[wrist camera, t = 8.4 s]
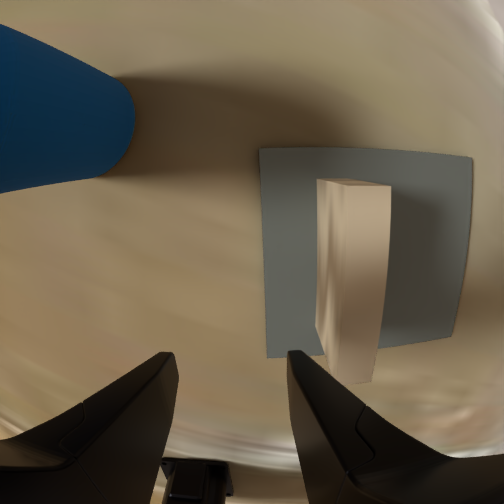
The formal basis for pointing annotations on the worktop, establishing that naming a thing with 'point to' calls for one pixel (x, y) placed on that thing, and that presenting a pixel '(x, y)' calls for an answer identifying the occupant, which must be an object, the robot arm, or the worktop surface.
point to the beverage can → (57, 115)
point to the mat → (400, 245)
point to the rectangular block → (351, 273)
